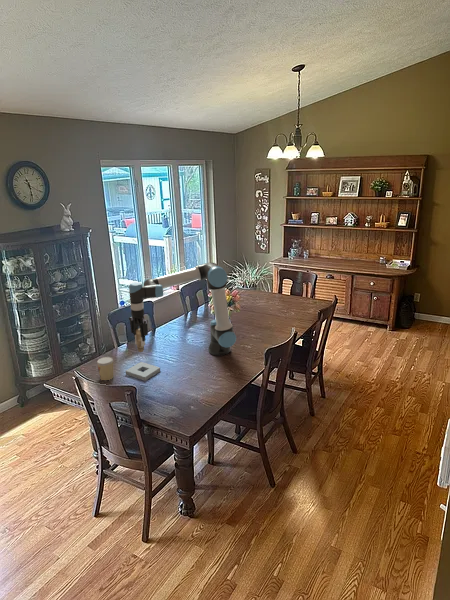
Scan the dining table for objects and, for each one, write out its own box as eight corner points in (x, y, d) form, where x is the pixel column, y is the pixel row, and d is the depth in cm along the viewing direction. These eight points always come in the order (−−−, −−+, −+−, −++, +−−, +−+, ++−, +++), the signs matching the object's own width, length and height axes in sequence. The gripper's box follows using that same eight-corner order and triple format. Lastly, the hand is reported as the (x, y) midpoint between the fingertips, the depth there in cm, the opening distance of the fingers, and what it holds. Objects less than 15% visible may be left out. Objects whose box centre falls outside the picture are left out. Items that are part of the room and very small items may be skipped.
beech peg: (145, 350, 250) (144, 329, 245) (141, 352, 246) (139, 331, 242) (140, 348, 252) (138, 328, 247) (136, 351, 248) (134, 330, 244)
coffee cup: (100, 374, 253) (98, 357, 249) (116, 373, 253) (114, 356, 249) (97, 382, 244) (95, 364, 240) (113, 381, 244) (111, 363, 241)
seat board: (160, 371, 256) (160, 367, 255) (145, 380, 244) (144, 377, 243) (141, 365, 264) (141, 361, 263) (125, 374, 252) (125, 370, 251)
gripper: (152, 309, 239) (155, 345, 247) (131, 304, 248) (134, 339, 255) (143, 313, 233) (146, 350, 241) (122, 308, 242) (125, 344, 249)
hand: (140, 344), depth 248 cm, fingers closed on beech peg, 4 cm apart
